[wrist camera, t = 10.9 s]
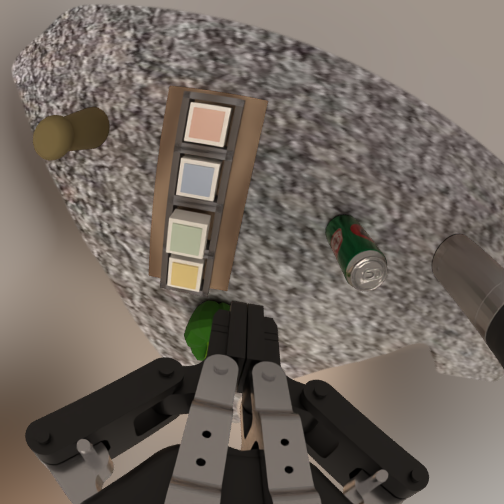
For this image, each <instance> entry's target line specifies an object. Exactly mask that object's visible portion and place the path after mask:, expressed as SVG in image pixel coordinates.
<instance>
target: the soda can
mask: <svg viewBox="0 0 504 504" xmlns="http://www.w3.org/2000/svg"><path fill="white" fill-rule="evenodd" d="M326 238H327V240H328V242H329V245H330V247H331V249H332V251H333V253H334V255H335V257H336V259H337V261H338V263H339V265H340V267H341V270H342V272H343V274H344V276H345V278H346V280H347V282H348V283H349V284H350V285H351V286H352V287H354V288H356V289H357V290H360V291H371V290H374V289H376V288H377V287H379V286H380V285H381V284H382V283H383V282H384V280H385V278H386V276H387V260H386V258H385V256H384V255H383V253H382V252H381V251H380V249H379V248H378V247H377V245H376V244H375V243H374V241H373V240H372V239H371V238H370V236H369V235H368V234H367V232H366V231H365V230H364V229H363V227H362V226H361V225H360V223H359V222H358V221H357V220H356V219H355V218H354V217H352V216H349V215H340V216H337V217H335V218H334V219H332V220H331V221H330V223H329V224H328V226H327V229H326Z"/></svg>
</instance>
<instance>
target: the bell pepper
mask: <svg viewBox="0 0 504 504" xmlns="http://www.w3.org/2000/svg"><path fill="white" fill-rule="evenodd" d="M219 309H221V310H227V311H230V305H228V304H226V303H224V302H222V303H220V304H218V303H217V302H215V301H206V302H204V303H202V304H201V305H199V306H198V307H197V308H196V310H195V311H194V313H193V314H192V316H191V318H190V320H189V322H188V324H187V326H186V330H185V333H184V337H185V340H186V343H187V345H188V346H189V347H191V351H192V353H193V354H194V356H195V357H196V359H197V360H202V361H203V360H204V359H205V358H206V356H207V351H208V345H209V339H210V333H211V327H212V321H213V316H214V314H215V313H216V312H217V311H218V310H219Z"/></svg>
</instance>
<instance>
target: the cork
mask: <svg viewBox="0 0 504 504" xmlns="http://www.w3.org/2000/svg"><path fill="white" fill-rule="evenodd" d="M108 133H109V120H108V117H107V115H106V114H105V112H104V111H103V110H101V109H100V108H97V107H89V108H85V109H83V110H80V111H77V112H75V113H72V114H70V115H67V116H65V117H63V116H59V115H52V116H48V117H46V118H45V119H43V120H42V121H41V122H40V123H39V124H38V125H37V127H36V129H35V132H34V135H33V145H34V148H35V151H36V152H37V154H38V155H39V156H40V157H42V158H43V159H46V160H57V159H59V158H61V157H62V156H64V155H65V154H66V153H67V152H68V151H75V150H84V149H94V148H97V147H99V146H101V145H102V144H103V143H104V142H105V140H106V138H107V136H108Z"/></svg>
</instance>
